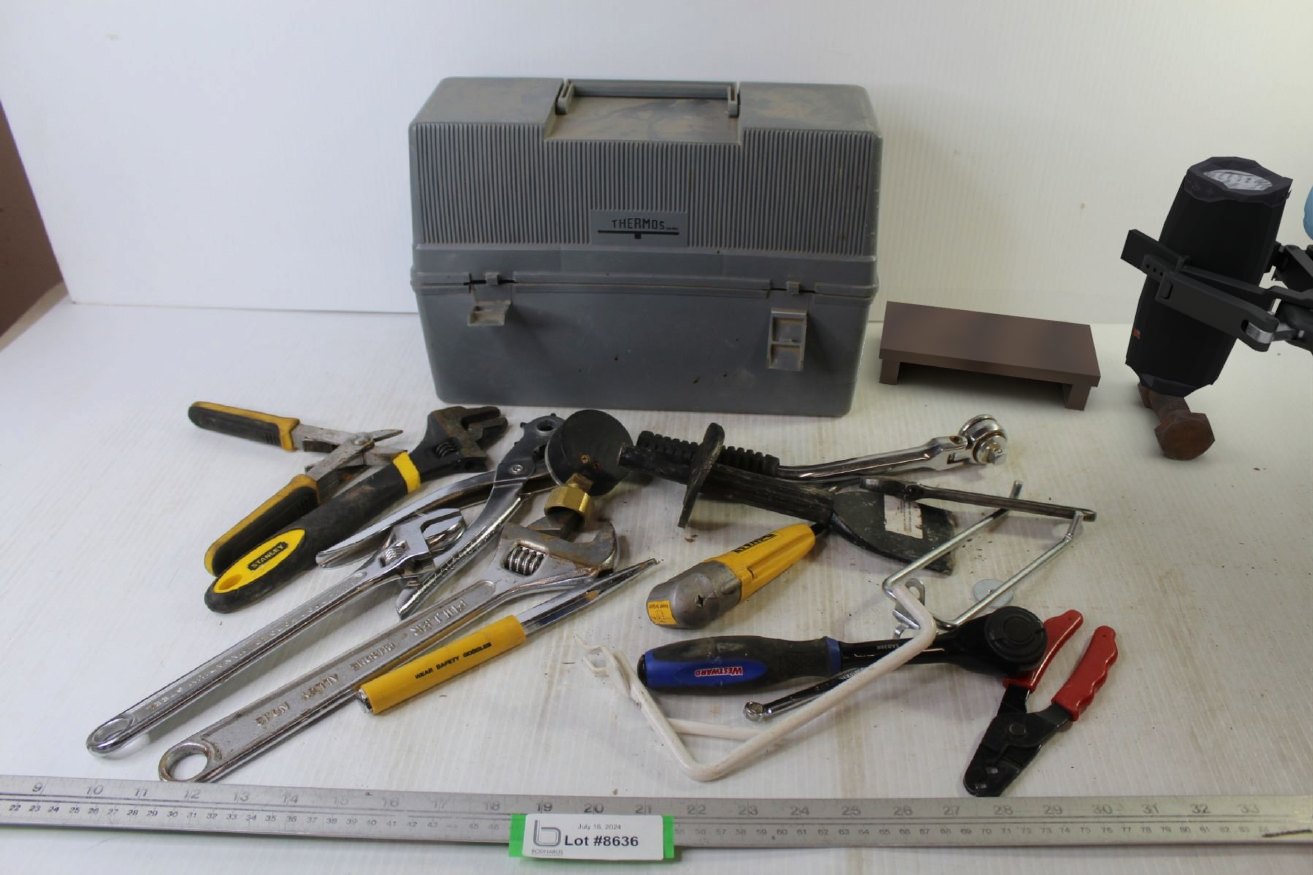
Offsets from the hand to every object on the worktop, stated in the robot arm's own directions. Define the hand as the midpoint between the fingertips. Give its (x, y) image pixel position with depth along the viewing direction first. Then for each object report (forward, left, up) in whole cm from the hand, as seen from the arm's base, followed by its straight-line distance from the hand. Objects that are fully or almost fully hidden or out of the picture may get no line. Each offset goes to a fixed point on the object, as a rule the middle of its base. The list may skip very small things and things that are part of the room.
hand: (1171, 236), depth 87 cm
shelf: (+12, -16, -26) cm, 33 cm away
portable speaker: (-3, +4, -12) cm, 13 cm away
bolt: (-8, -11, -26) cm, 29 cm away
